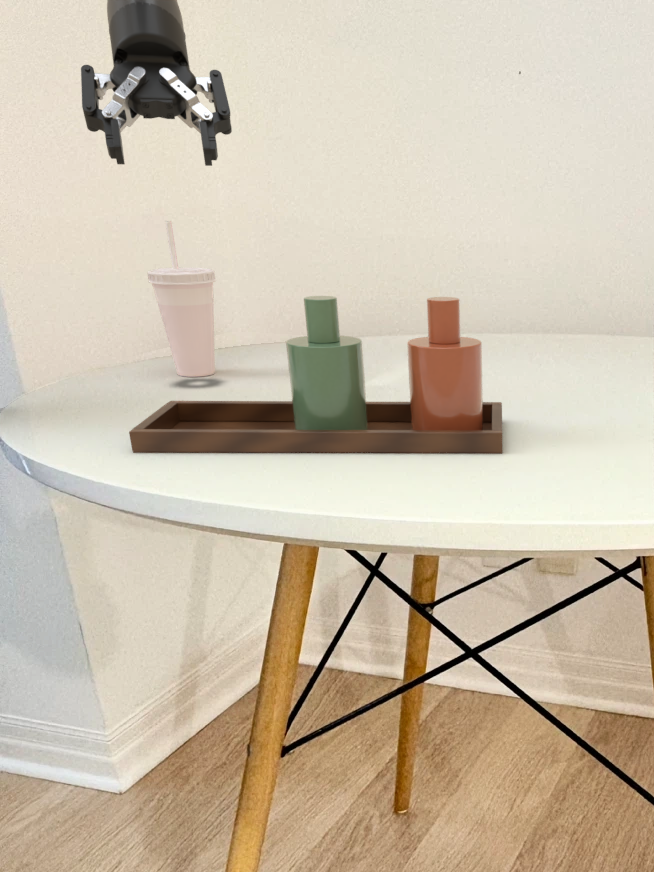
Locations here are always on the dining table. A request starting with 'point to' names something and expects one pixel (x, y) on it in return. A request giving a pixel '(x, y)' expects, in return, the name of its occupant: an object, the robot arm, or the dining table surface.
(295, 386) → the ceramic bottles
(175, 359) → the smoothie
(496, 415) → the tray
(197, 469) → the dining table surface
